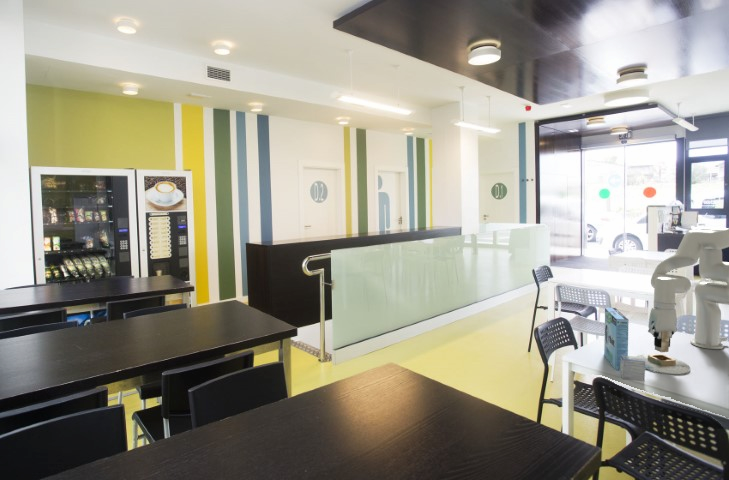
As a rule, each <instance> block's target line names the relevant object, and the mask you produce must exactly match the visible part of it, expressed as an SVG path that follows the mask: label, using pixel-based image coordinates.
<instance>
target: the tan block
mask: <svg viewBox="0 0 729 480" xmlns="http://www.w3.org/2000/svg"><path fill="white" fill-rule="evenodd" d="M657 334H658V332H657ZM669 335H670V331H666V332H662V333H661V338H660V339H662V342H661V348H659V347H657V346H655V345H654V350H655V351H657V352H660V353H668V352H669V348H670V347H669Z"/></svg>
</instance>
